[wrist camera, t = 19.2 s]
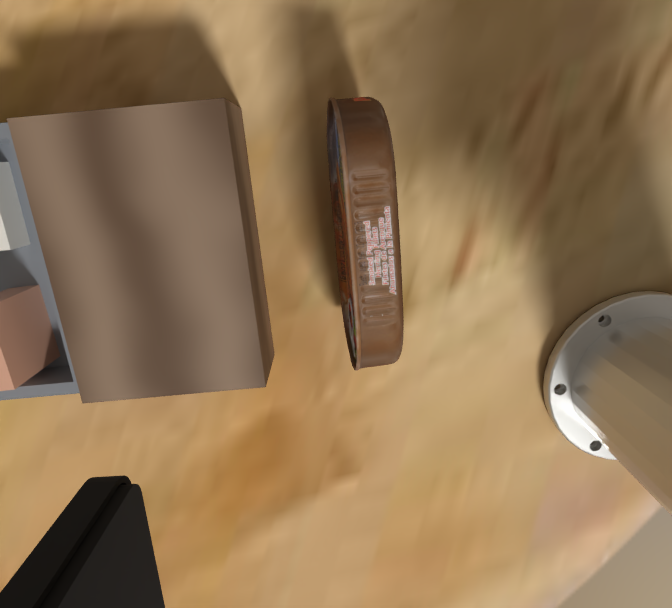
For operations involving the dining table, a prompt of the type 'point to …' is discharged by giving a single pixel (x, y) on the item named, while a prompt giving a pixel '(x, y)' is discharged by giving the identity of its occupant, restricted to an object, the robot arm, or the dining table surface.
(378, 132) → the tin
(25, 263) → the box
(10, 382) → the terracotta tile
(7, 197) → the cream tile
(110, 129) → the brown flat block
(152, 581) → the robot arm
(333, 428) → the dining table surface
